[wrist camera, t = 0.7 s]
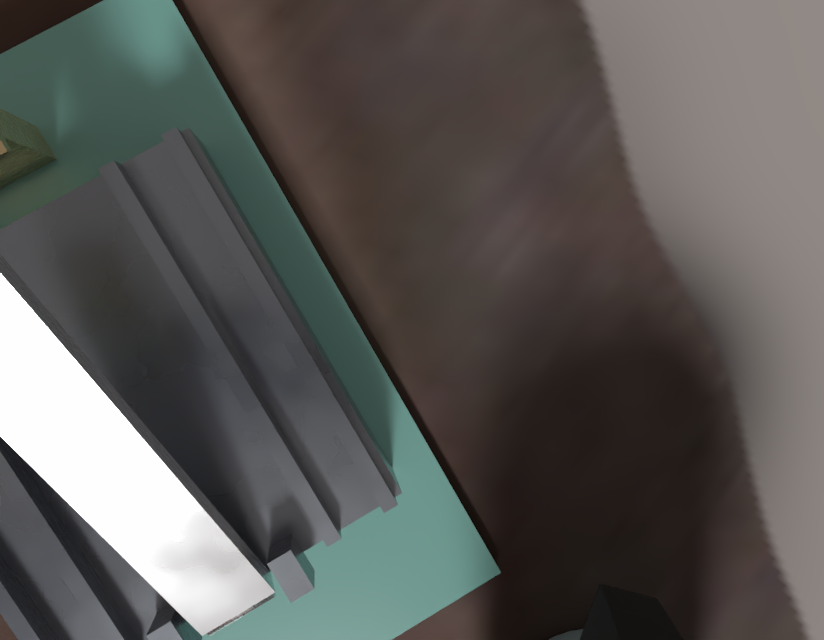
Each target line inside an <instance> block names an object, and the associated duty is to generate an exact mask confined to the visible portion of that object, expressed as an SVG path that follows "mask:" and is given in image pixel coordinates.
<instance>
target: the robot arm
mask: <svg viewBox="0 0 824 640" xmlns="http://www.w3.org/2000/svg"><path fill="white" fill-rule="evenodd" d="M580 640H683V639H682V637H681V636H680V634H679V633H678V631H677V629H676V628H675V626H674V625H673V623H672V621H671V620H670V618H669V617H668V615H667V614H666V612H665V610H664V609H663V607H662V606H661V604H660V603H659V601H658V600H657V599H655V598H652V597H648V596H644V595H640V594H636V593H633V592H629V591H625V590H621V589H617V588H614V587H610V586H606V585H602V584H600V585H599V588H598V591H597V593H596V596H595V599H594V602H593V604H592V607H591V610H590V613H589V615H588V618H587V621H586V623H585V626H584V629H583V632H582V634H581V637H580Z"/></svg>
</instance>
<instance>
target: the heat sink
mask: <svg viewBox="0 0 824 640" xmlns="http://www.w3.org/2000/svg"><path fill="white" fill-rule="evenodd" d="M161 137H162V138H163V140H164V141H163V142H161V143H159V144H157V145H155V146H154V147H152V148H150V149H148V150H146V151H144V152H142V153H141V154H139V155H137V156H135V157H133V158H131V159H129V160H128V161H126V162H124V163H122V164H120V163H118V162H116V161H114V160H113V161H112V162H110V163H108V164H106V165H104V166H102V167H100V168H99V171H100V173H101V174H102V175H100V176H98V177H96V178H94V179H92V180H91V181H89V182H87V183H85V184H83V185H81V186H79V187H78V188H76V189H74V190H72V191H70V192H68V193H67V194H65V195H63V196H61V197H59V198H57V199H55V200H54V201H52V202H50V203H48V204H46V205H44V206H42V207H41V208H39V209H37V210H35V211H33V212H31V213H30V214H28V215H26V216H24V217H22V218H20V219H18V220H17V221H15V222H13V223H11V224H9V225H7V226H5V227H4V228H2V229H0V254H1V255H2V256H3V258H4V259H5V260H6V261H7V262H8V263H9V265H10V266H11V267H12V268H13V269H14V271H15V272H16V273H17V274H18V275H19V276H20V278H21V279H22V280H23V281H24V282H25V284H26V285H27V286H28V287H29V288H30V289H31V291H32V292H33V293H34V294H35V295H36V297H37V298H38V299H39V300H40V301H41V302H42V304H43V305H44V306H45V307H46V308H47V310H48V311H49V312H50V313H51V314H52V315H53V317H54V318H55V319H56V320H57V321H58V323H59V324H60V325H61V326H62V327H63V328H64V330H65V331H66V332H67V333H68V334H69V336H70V337H71V338H72V339H73V340H74V341H75V343H76V344H77V345H78V346H79V347H80V349H81V350H82V351H83V352H84V353H85V354H86V356H87V357H88V358H89V359H90V360H91V362H92V363H93V364H94V365H95V366H96V367H97V369H98V370H99V371H100V372H101V373H102V374H103V376H104V377H105V378H106V379H107V380H108V382H109V383H110V384H111V385H112V386H113V387H114V389H115V390H116V391H117V392H118V393H119V395H120V396H121V397H122V398H123V399H124V400H125V402H126V403H127V404H128V405H129V406H130V408H131V409H132V410H133V411H134V412H135V413H136V415H137V416H138V417H139V418H140V419H141V421H142V422H143V423H144V424H145V425H146V426H147V428H148V429H149V430H150V431H151V432H152V434H153V435H154V436H155V437H156V438H157V439H158V441H159V442H160V443H161V444H162V445H163V447H164V448H165V449H166V450H167V451H168V452H169V454H170V455H171V456H172V457H173V458H174V460H175V461H176V462H177V463H178V464H179V465H180V467H181V468H182V469H183V470H184V471H185V473H186V474H187V475H188V476H189V477H190V478H191V480H192V481H193V482H194V483H195V484H196V486H197V487H198V488H199V489H200V490H201V491H202V493H203V494H204V495H205V496H206V497H207V499H208V500H209V501H210V502H211V503H212V504H213V506H214V507H215V508H216V509H217V510H218V512H219V513H220V514H221V515H222V516H223V517H224V519H225V520H226V521H227V522H228V523H229V525H230V526H231V527H232V528H233V529H234V530H235V532H236V533H237V534H238V535H239V536H240V537H241V539H242V540H243V541H244V542H245V543H246V545H247V546H248V547H249V548H250V549H251V550H252V552H253V553H254V554H255V555H256V556H257V558H258V559H259V560H260V561H261V562H262V563H263V565H264V566H265V567H266V568H267V569H268V571H269V572H270V571H271V572H272V573H273V575H274V576H275V578H276V580H277V581H278V583H279V584H280V586H281V588H282V589H283V591H284V593H285V594H286V596H287V597H288V599H289V601H290V602H291V603H292V602H293V601H295V600H297V599H298V598H300V597H302V596H303V595H305V594H307V593H308V592H310V591H312V590H313V589H314V585H315V570H314V568H313V567H312V565H311V563H310V562H309V560H308V559H307V557H306V555H305V554H304V551H306V550H307V549H309V548H311V547H312V546H314V545H316V544H317V543H319V542H321V541H322V540H323V541H324V543H325V544H326V546H327V547H328V546H330V545H332V544H333V543H335V542H337V541H338V540H340V539H342V538H341V529H343V528H344V527H346V526H348V525H349V524H351V523H353V522H354V521H356V520H358V519H359V518H361V517H363V516H364V515H366V514H368V513H369V512H371V511H373V510H375V509H376V508H378V507H381V509H382V511H383V512H384V513H385V512H387V511H389V510H390V509H392V508H394V507H395V506H397V505H398V503H397V500H396V496H398V495H400V494H401V493H402V491H401V489H400V486H399V483H398V481H397V478H396V475H395V473H394V470H393V468H392V466H391V464H390V463H389V461H388V459H387V458H386V456H385V454H384V452H383V451H382V449H381V447H380V446H379V444H378V442H377V440H376V439H375V437H374V435H373V434H372V432H371V430H370V428H369V427H368V425H367V423H366V422H365V420H364V418H363V416H362V415H361V413H360V411H359V410H358V408H357V406H356V404H355V403H354V401H353V399H352V398H351V396H350V394H349V392H348V391H347V389H346V387H345V386H344V384H343V382H342V380H341V379H340V377H339V375H338V374H337V372H336V370H335V368H334V367H333V365H332V363H331V362H330V360H329V358H328V356H327V355H326V353H325V351H324V350H323V348H322V346H321V344H320V343H319V341H318V339H317V338H316V336H315V334H314V332H313V331H312V329H311V327H310V326H309V324H308V322H307V320H306V319H305V317H304V315H303V314H302V312H301V310H300V308H299V307H298V305H297V303H296V302H295V300H294V298H293V296H292V295H291V293H290V291H289V290H288V288H287V286H286V284H285V283H284V281H283V279H282V278H281V276H280V274H279V272H278V271H277V269H276V267H275V266H274V264H273V262H272V261H271V259H270V257H269V255H268V254H267V252H266V250H265V249H264V247H263V245H262V243H261V242H260V240H259V238H258V237H257V235H256V233H255V231H254V230H253V228H252V226H251V225H250V223H249V221H248V219H247V218H246V216H245V214H244V213H243V211H242V209H241V207H240V206H239V204H238V202H237V201H236V199H235V197H234V195H233V194H232V192H231V190H230V189H229V187H228V185H227V183H226V182H225V180H224V178H223V177H222V175H221V173H220V171H219V170H218V168H217V166H216V165H215V163H214V161H213V159H212V158H211V156H210V154H209V153H208V151H207V149H206V147H205V146H204V144H203V143H202V142H201V141H200V140H199V138H198V137H197V136H196V135H195V134H194V133H193V132H192V131H191V130H190V129H189V128H187V129H185V130H183V131H180V130H179V129H178V128H177V127H175V128H173V129H171V130H169V131H167V132H165V133H164V134H162V135H161ZM54 160H56V157H55V155H54V154H53V152H52V151H51V149H50V147H49V146H48V144H47V142H46V141H45V139H44V138H43V136H42V134H41V133H40V131H39V129H38V128H37V126H35V125H33V124H31V123H29V122H27V121H25V120H23V119H21V118H19V117H17V116H15V115H13V114H11V113H9V112H7V111H5V110H3V109H1V108H0V189H2V188H4V187H6V186H8V185H9V184H11V183H13V182H15V181H17V180H19V179H21V178H23V177H24V176H26V175H28V174H30V173H32V172H34V171H36V170H37V169H39V168H41V167H43V166H45V165H47V164H49V163H51V162H52V161H54ZM0 614H1V615H2V617H3V618H4V620H5V621H6V623H7V624H8V626H9V627H10V628H11V630H12V631H13V633H14V634H15V636H16V637H17V639H18V640H202V638H203V637H202V635H201V634H200V633H199V632H198V631H197V630H195V629H194V628H193V627H192V626H191V625H190V624H189V623H188V622H187V621H186V620H185V619H184V618H183V617H182V616H181V615H180V614H179V613H178V612H177V611H176V610H175V609H174V608H173V607H172V606H171V605H170V604H169V603H168V602H167V601H166V600H165V599H164V598H163V597H162V596H161V595H160V594H159V593H158V592H157V591H156V590H155V589H154V588H153V587H152V586H151V585H150V584H149V583H148V582H147V581H146V580H145V579H144V578H143V577H142V576H141V575H140V574H139V573H138V572H137V571H136V570H135V569H134V568H133V567H132V566H131V565H130V564H129V563H128V562H127V561H126V560H125V559H124V558H123V557H122V556H121V555H120V554H119V553H118V552H117V551H116V550H115V549H114V548H113V547H112V546H111V545H110V544H109V543H108V542H107V541H106V540H105V539H104V538H103V537H102V536H101V535H100V534H99V533H98V532H97V531H96V530H95V529H94V528H93V527H92V526H91V525H90V524H89V523H88V522H87V521H86V520H85V519H84V518H83V517H82V516H81V515H80V514H79V513H78V512H77V511H76V510H75V509H74V508H73V507H72V506H71V505H70V504H69V503H68V502H67V501H66V500H65V499H64V498H62V497H61V496H60V495H59V494H58V493H57V492H56V491H55V490H54V489H53V488H52V487H51V486H50V485H49V484H48V483H47V482H46V481H45V480H44V479H43V478H42V477H41V476H40V475H39V474H38V473H37V472H36V471H35V470H34V469H33V468H32V467H31V466H30V465H29V464H28V463H27V462H26V461H25V460H24V459H23V458H22V457H21V456H20V455H19V454H18V453H17V452H16V451H15V450H14V449H13V448H12V447H11V446H10V445H9V444H8V443H7V442H6V441H5V440H4V439H3V438H2V437H1V436H0Z"/></svg>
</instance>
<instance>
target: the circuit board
mask: <svg viewBox="0 0 824 640" xmlns="http://www.w3.org/2000/svg"><path fill="white" fill-rule="evenodd" d="M0 108H1V109H3V110H5V111H7V112H9V113H11V114H13V115H15V116H17V117H19V118H21V119H23V120H25V121H27V122H29V123H31V124H33V125H35V126H37V128H38V129H39V131H40V133H41V134H42V136H43V138H44V139H45V141H46V142H47V144H48V146H49V147H50V149H51V151H52V152H53V154H54V155H55V157H56V160H54V161H52V162H51V163H49V164H47V165H45V166H43V167H41V168H39V169H37V170H36V171H34V172H32V173H30V174H28V175H26V176H24V177H23V178H21V179H19V180H17V181H15V182H13V183H11V184H9V185H8V186H6V187H4V188H2V189H0V229H2V228H4V227H5V226H7V225H9V224H11V223H13V222H15V221H17V220H18V219H20V218H22V217H24V216H26V215H28V214H30V213H31V212H33V211H35V210H37V209H39V208H41V207H42V206H44V205H46V204H48V203H50V202H52V201H54V200H55V199H57V198H59V197H61V196H63V195H65V194H67V193H68V192H70V191H72V190H74V189H76V188H78V187H79V186H81V185H83V184H85V183H87V182H89V181H91V180H92V179H94V178H96V177H98V176H100V175H102V174H101V173H100V171H99V168H100V167H102V166H104V165H106V164H108V163H110V162H112V161H113V160H114V161H116V162H118V163H120V164H122V163H124V162H126V161H128V160H129V159H131V158H133V157H135V156H137V155H139V154H141V153H142V152H144V151H146V150H148V149H150V148H152V147H154V146H155V145H157V144H159V143H161V142H163V141H164V140H163V138H162V137H161V135H162V134H164V133H165V132H167V131H169V130H171V129H173V128H175V127H177V128H178V129H179V130H180V131H183V130H185V129H187V128H189V129H190V130H191V131H192V132H193V133H194V134H195V135H196V136H197V137H198V138H199V140H200V141H201V142H202V143H203V144H204V146H205V147H206V149H207V151H208V153H209V154H210V156H211V158H212V159H213V161H214V163H215V165H216V166H217V168H218V170H219V171H220V173H221V175H222V177H223V178H224V180H225V182H226V183H227V185H228V187H229V189H230V190H231V192H232V194H233V195H234V197H235V199H236V201H237V202H238V204H239V206H240V207H241V209H242V211H243V213H244V214H245V216H246V218H247V219H248V221H249V223H250V225H251V226H252V228H253V230H254V231H255V233H256V235H257V237H258V238H259V240H260V242H261V243H262V245H263V247H264V249H265V250H266V252H267V254H268V255H269V257H270V259H271V261H272V262H273V264H274V266H275V267H276V269H277V271H278V272H279V274H280V276H281V278H282V279H283V281H284V283H285V284H286V286H287V288H288V290H289V291H290V293H291V295H292V296H293V298H294V300H295V302H296V303H297V305H298V307H299V308H300V310H301V312H302V314H303V315H304V317H305V319H306V320H307V322H308V324H309V326H310V327H311V329H312V331H313V332H314V334H315V336H316V338H317V339H318V341H319V343H320V344H321V346H322V348H323V350H324V351H325V353H326V355H327V356H328V358H329V360H330V362H331V363H332V365H333V367H334V368H335V370H336V372H337V374H338V375H339V377H340V379H341V380H342V382H343V384H344V386H345V387H346V389H347V391H348V392H349V394H350V396H351V398H352V399H353V401H354V403H355V404H356V406H357V408H358V410H359V411H360V413H361V415H362V416H363V418H364V420H365V422H366V423H367V425H368V427H369V428H370V430H371V432H372V434H373V435H374V437H375V439H376V440H377V442H378V444H379V446H380V447H381V449H382V451H383V452H384V454H385V456H386V458H387V459H388V461H389V463H390V464H391V466H392V468H393V470H394V473H395V475H396V478H397V481H398V483H399V486H400V489H401V491H402V493H401V494H400V495H398V496H396V500H397V503H398V505H397V506H395V507H394V508H392V509H390V510H389V511H387V512H385V513H384V512H383V511H382V509H381V507H378V508H376V509H375V510H373V511H371V512H369V513H368V514H366V515H364V516H363V517H361V518H359V519H358V520H356V521H354V522H353V523H351V524H349V525H348V526H346V527H344V528H343V529H341V538H342V539H340V540H338V541H337V542H335V543H333V544H332V545H330V546H328V547H327V546H326V544H325V543H324V541H323V540H322V541H321V542H319V543H317V544H316V545H314V546H312V547H311V548H309V549H307V550H306V551H304V554H305V555H306V557H307V559H308V560H309V562H310V563H311V565H312V567H313V568H314V570H315V585H314V589H313V590H312V591H310V592H308V593H307V594H305V595H303V596H302V597H300V598H298V599H297V600H295V601H293V602H292V603H291V602H290V601H289V599H288V597H287V596H286V594H285V593H284V591H283V589H282V588H281V586H280V584H279V583H278V581H277V580H276V578H275V576H274V575H273V573H272V572H271V571H270V573H271V576H272V580H273V585H274V589H275V597H274V598H273V599H271V600H269V601H268V602H266V603H264V604H263V605H261V606H259V607H258V608H256V609H254V610H253V611H251V612H249V613H248V614H246V615H244V616H243V617H241V618H239V619H238V620H236V621H234V622H233V623H231V624H229V625H228V626H226V627H224V628H223V629H221V630H219V631H218V632H216V633H214V634H213V635H211V636H210V635H208V634H207V633H206V634H205V635H203V636H202V637H203V638H202V640H392V639H393V638H395V637H397V636H398V635H400V634H402V633H403V632H405V631H407V630H408V629H410V628H411V627H413V626H415V625H416V624H418V623H420V622H421V621H423V620H425V619H426V618H428V617H429V616H431V615H433V614H434V613H436V612H438V611H439V610H441V609H443V608H444V607H446V606H447V605H449V604H451V603H452V602H454V601H456V600H457V599H459V598H461V597H462V596H464V595H465V594H467V593H469V592H470V591H472V590H474V589H475V588H477V587H479V586H480V585H482V584H483V583H485V582H487V581H488V580H490V579H492V578H493V577H495V576H496V575H498V574H500V573H501V572H500V570H499V568H498V566H497V565H496V563H495V561H494V559H493V558H492V556H491V554H490V552H489V551H488V549H487V547H486V545H485V544H484V542H483V540H482V538H481V537H480V535H479V533H478V532H477V530H476V528H475V526H474V525H473V523H472V521H471V519H470V518H469V516H468V514H467V512H466V511H465V509H464V507H463V505H462V504H461V502H460V500H459V498H458V497H457V495H456V493H455V491H454V490H453V488H452V486H451V484H450V483H449V481H448V479H447V478H446V476H445V474H444V472H443V471H442V469H441V467H440V465H439V464H438V462H437V460H436V458H435V457H434V455H433V453H432V451H431V450H430V448H429V446H428V444H427V443H426V441H425V439H424V437H423V436H422V434H421V432H420V431H419V429H418V427H417V425H416V424H415V422H414V420H413V418H412V417H411V415H410V413H409V411H408V410H407V408H406V406H405V404H404V403H403V401H402V399H401V397H400V396H399V394H398V392H397V390H396V389H395V387H394V385H393V384H392V382H391V380H390V378H389V377H388V375H387V373H386V371H385V370H384V368H383V366H382V364H381V363H380V361H379V359H378V357H377V356H376V354H375V352H374V350H373V349H372V347H371V345H370V343H369V342H368V340H367V338H366V336H365V335H364V333H363V331H362V330H361V328H360V326H359V324H358V323H357V321H356V319H355V317H354V316H353V314H352V312H351V310H350V309H349V307H348V305H347V303H346V302H345V300H344V298H343V296H342V295H341V293H340V291H339V289H338V288H337V286H336V284H335V283H334V281H333V279H332V277H331V276H330V274H329V272H328V270H327V269H326V267H325V265H324V263H323V262H322V260H321V258H320V256H319V255H318V253H317V251H316V249H315V248H314V246H313V244H312V242H311V241H310V239H309V237H308V235H307V234H306V232H305V230H304V229H303V227H302V225H301V223H300V222H299V220H298V218H297V216H296V215H295V213H294V211H293V209H292V208H291V206H290V204H289V202H288V201H287V199H286V197H285V195H284V194H283V192H282V190H281V188H280V187H279V185H278V183H277V182H276V180H275V178H274V176H273V175H272V173H271V171H270V169H269V168H268V166H267V164H266V162H265V161H264V159H263V157H262V155H261V154H260V152H259V150H258V148H257V147H256V145H255V143H254V141H253V140H252V138H251V136H250V135H249V133H248V131H247V129H246V128H245V126H244V124H243V122H242V121H241V119H240V117H239V115H238V114H237V112H236V110H235V108H234V107H233V105H232V103H231V101H230V100H229V98H228V96H227V94H226V93H225V91H224V89H223V87H222V86H221V84H220V82H219V81H218V79H217V77H216V75H215V74H214V72H213V70H212V68H211V67H210V65H209V63H208V61H207V60H206V58H205V56H204V54H203V53H202V51H201V49H200V47H199V46H198V44H197V42H196V40H195V39H194V37H193V35H192V34H191V32H190V30H189V28H188V27H187V25H186V23H185V21H184V20H183V18H182V16H181V14H180V13H179V11H178V9H177V7H176V6H175V4H174V2H173V0H103V1H101V2H99V3H98V4H96V5H94V6H92V7H90V8H88V9H86V10H84V11H82V12H80V13H78V14H76V15H75V16H73V17H71V18H69V19H67V20H65V21H63V22H61V23H59V24H57V25H55V26H53V27H51V28H50V29H48V30H46V31H44V32H42V33H40V34H38V35H36V36H34V37H32V38H30V39H28V40H27V41H25V42H23V43H21V44H19V45H17V46H15V47H13V48H11V49H9V50H7V51H5V52H3V53H2V54H0Z"/></svg>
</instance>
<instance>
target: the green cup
mask: <svg viewBox="0 0 824 640" xmlns="http://www.w3.org/2000/svg"><path fill="white" fill-rule="evenodd" d="M582 632H583V629H579V630H574V631H569V632H566V633H563V634H560V635H557V636H554V637H552V638H550V639H549V640H580V637H581V634H582Z"/></svg>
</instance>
